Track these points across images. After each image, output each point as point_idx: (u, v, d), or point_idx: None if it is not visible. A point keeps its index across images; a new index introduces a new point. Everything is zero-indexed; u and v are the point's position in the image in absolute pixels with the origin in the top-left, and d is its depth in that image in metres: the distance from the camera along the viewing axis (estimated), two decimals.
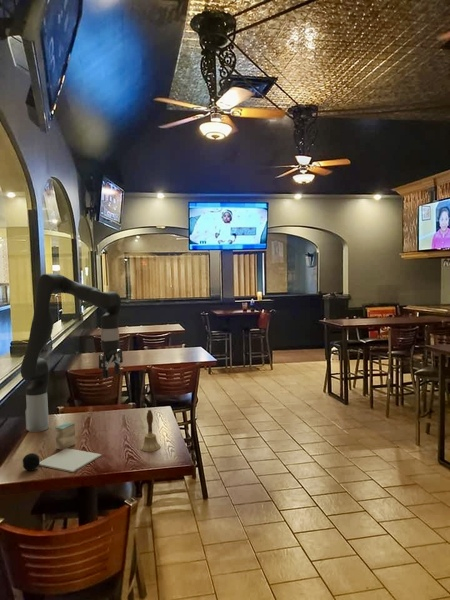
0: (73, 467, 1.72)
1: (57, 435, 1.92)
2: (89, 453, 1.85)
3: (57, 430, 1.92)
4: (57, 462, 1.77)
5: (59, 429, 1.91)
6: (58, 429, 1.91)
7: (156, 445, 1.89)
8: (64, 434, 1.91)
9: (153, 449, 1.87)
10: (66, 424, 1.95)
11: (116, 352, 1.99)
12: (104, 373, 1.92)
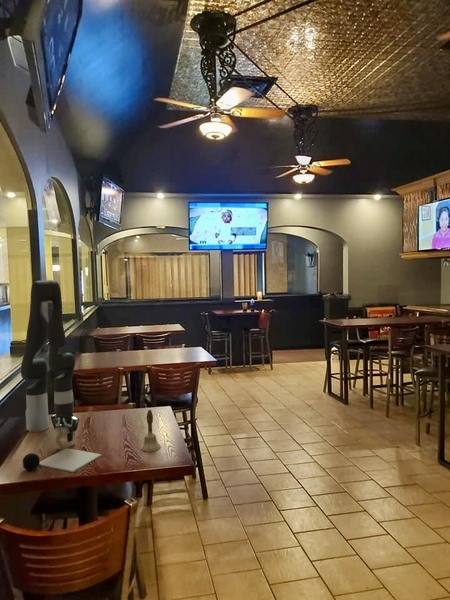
0: (73, 467, 1.72)
1: (57, 435, 1.92)
2: (89, 453, 1.85)
3: (57, 430, 1.92)
4: (57, 462, 1.77)
5: (59, 429, 1.91)
6: (58, 429, 1.91)
7: (156, 445, 1.89)
8: (64, 434, 1.91)
9: (153, 449, 1.87)
10: None
11: None
12: (71, 435, 1.93)
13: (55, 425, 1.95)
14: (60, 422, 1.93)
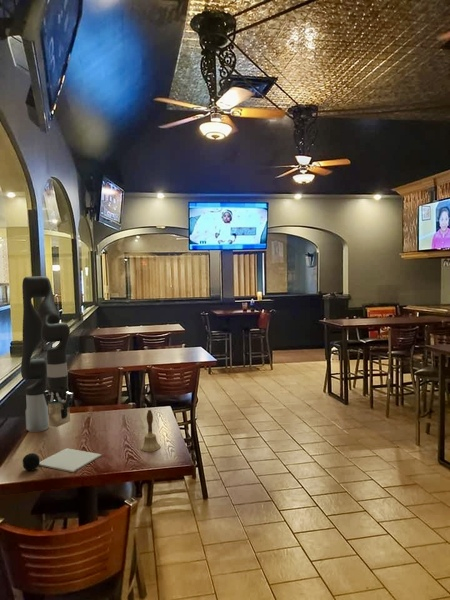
0: (73, 467, 1.72)
1: (50, 411, 1.78)
2: (89, 453, 1.85)
3: (50, 406, 1.77)
4: (57, 462, 1.77)
5: (52, 404, 1.77)
6: (51, 405, 1.77)
7: (156, 445, 1.89)
8: (58, 410, 1.77)
9: (153, 449, 1.87)
10: None
11: None
12: (66, 412, 1.79)
13: (48, 401, 1.81)
14: (53, 397, 1.79)
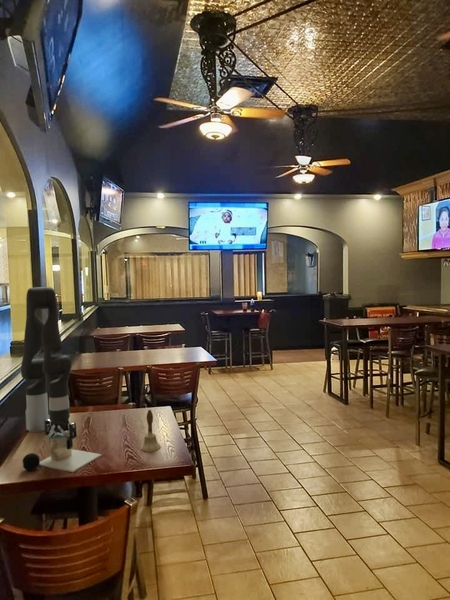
0: (73, 467, 1.72)
1: (52, 445, 1.79)
2: (89, 453, 1.85)
3: (52, 440, 1.78)
4: (57, 462, 1.77)
5: (54, 439, 1.78)
6: (53, 439, 1.78)
7: (156, 445, 1.89)
8: (60, 444, 1.78)
9: (153, 449, 1.87)
10: None
11: None
12: (71, 443, 1.79)
13: (47, 431, 1.82)
14: (54, 429, 1.80)
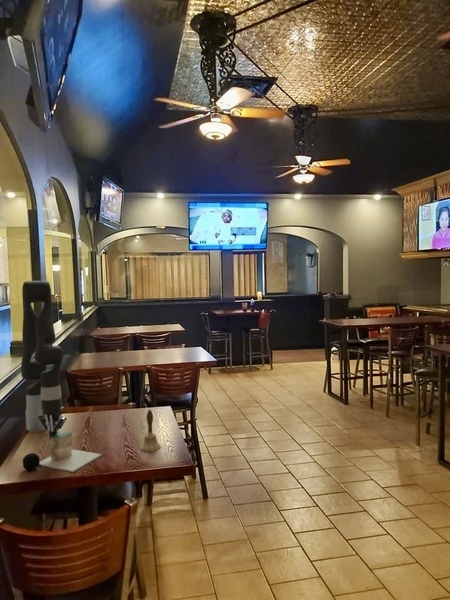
0: (73, 467, 1.72)
1: (52, 445, 1.78)
2: (89, 453, 1.85)
3: (52, 440, 1.78)
4: (57, 462, 1.77)
5: (55, 439, 1.78)
6: (54, 439, 1.78)
7: (156, 445, 1.89)
8: (60, 444, 1.78)
9: (153, 449, 1.87)
10: (62, 433, 1.82)
11: None
12: (56, 434, 1.82)
13: (45, 424, 1.82)
14: (48, 419, 1.81)
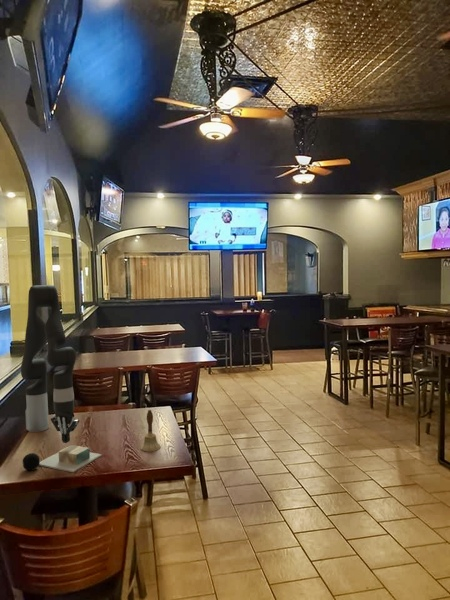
0: (73, 467, 1.72)
1: (70, 455, 1.75)
2: None
3: (74, 457, 1.74)
4: (57, 462, 1.77)
5: (76, 460, 1.74)
6: (75, 458, 1.74)
7: (156, 445, 1.89)
8: None
9: (153, 449, 1.87)
10: (85, 454, 1.78)
11: None
12: (68, 436, 1.79)
13: (57, 426, 1.80)
14: (61, 422, 1.78)
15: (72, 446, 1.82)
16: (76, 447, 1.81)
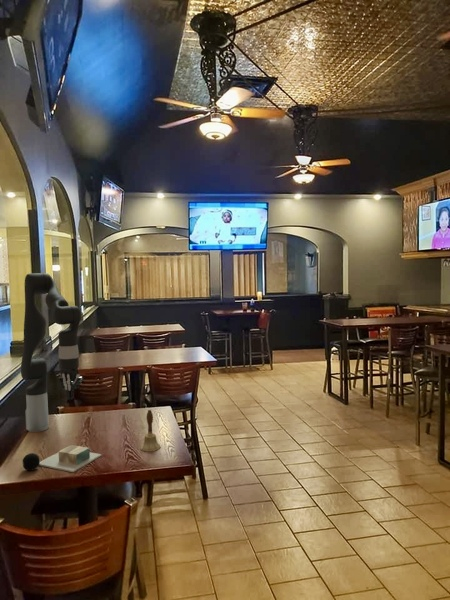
0: (73, 467, 1.72)
1: (70, 455, 1.75)
2: None
3: (74, 457, 1.74)
4: (57, 462, 1.77)
5: (76, 460, 1.74)
6: (75, 458, 1.74)
7: (156, 445, 1.89)
8: None
9: (153, 449, 1.87)
10: (85, 454, 1.78)
11: None
12: (73, 393, 1.84)
13: (62, 383, 1.84)
14: (65, 378, 1.83)
15: (72, 446, 1.82)
16: (76, 447, 1.81)
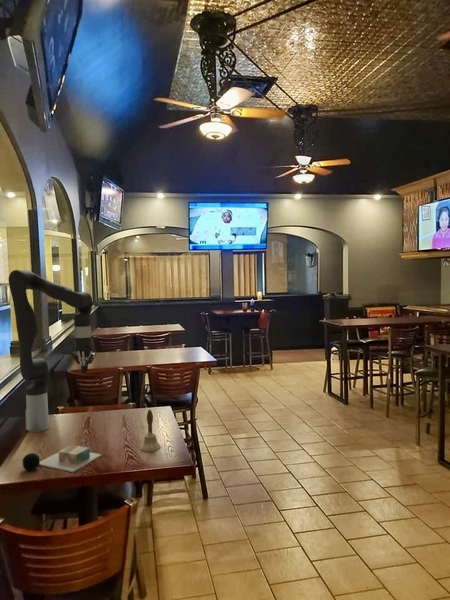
0: (73, 467, 1.72)
1: (70, 455, 1.75)
2: None
3: (74, 457, 1.74)
4: (57, 462, 1.77)
5: (76, 460, 1.74)
6: (75, 458, 1.74)
7: (156, 445, 1.89)
8: None
9: (153, 449, 1.87)
10: (85, 454, 1.78)
11: None
12: (87, 368, 2.11)
13: (77, 359, 2.11)
14: (80, 355, 2.09)
15: (72, 446, 1.82)
16: (76, 447, 1.81)
